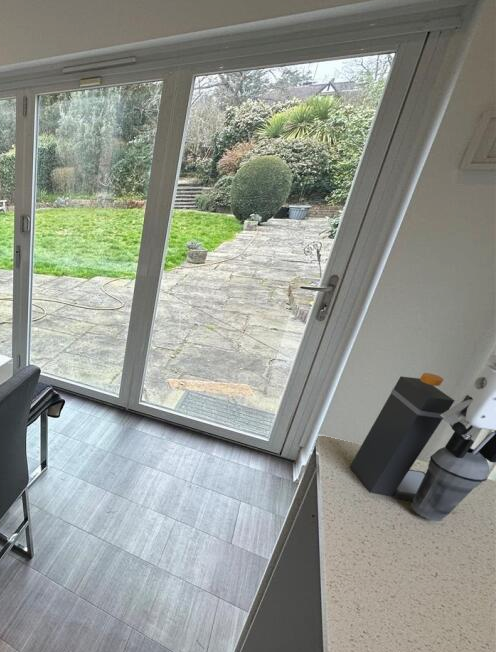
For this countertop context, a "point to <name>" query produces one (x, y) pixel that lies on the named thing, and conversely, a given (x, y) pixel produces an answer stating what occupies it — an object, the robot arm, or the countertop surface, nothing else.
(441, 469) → the beverage cup
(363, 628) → the countertop surface
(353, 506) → the countertop surface
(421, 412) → the espresso machine
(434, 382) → the brew button
